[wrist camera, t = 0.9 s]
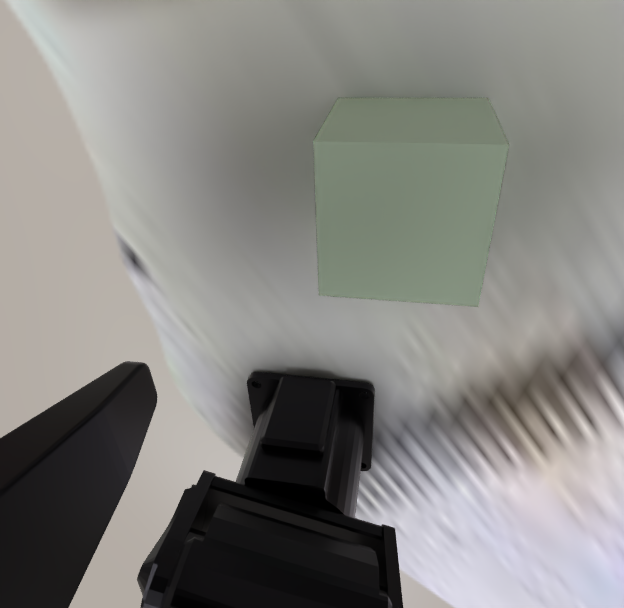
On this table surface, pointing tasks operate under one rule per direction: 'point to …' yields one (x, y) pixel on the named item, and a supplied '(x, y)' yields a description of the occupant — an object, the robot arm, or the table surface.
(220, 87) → the table surface
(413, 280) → the cube
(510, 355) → the table surface
